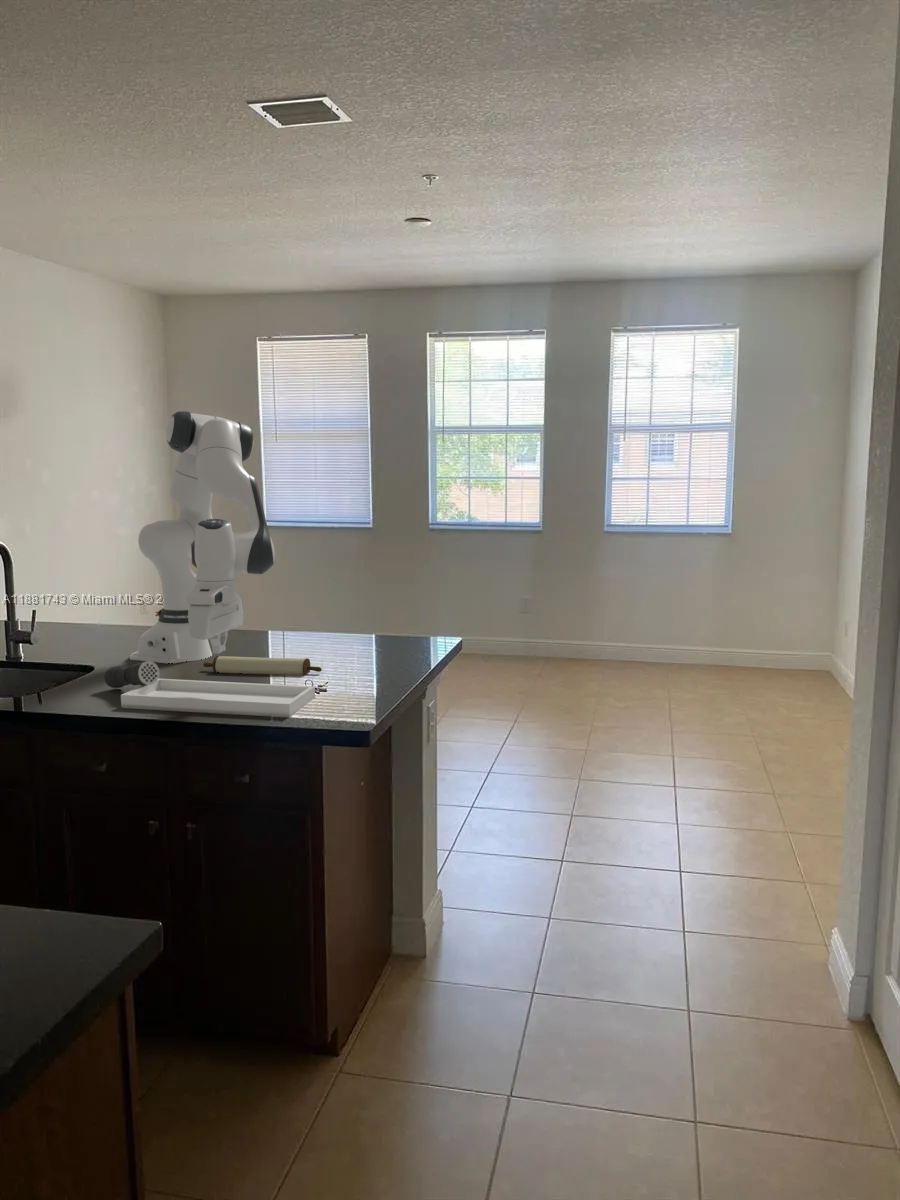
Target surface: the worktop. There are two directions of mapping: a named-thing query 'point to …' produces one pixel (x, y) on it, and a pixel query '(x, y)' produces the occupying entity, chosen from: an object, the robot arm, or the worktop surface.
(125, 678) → the flashlight
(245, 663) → the rolling pin
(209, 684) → the tray
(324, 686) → the worktop surface
